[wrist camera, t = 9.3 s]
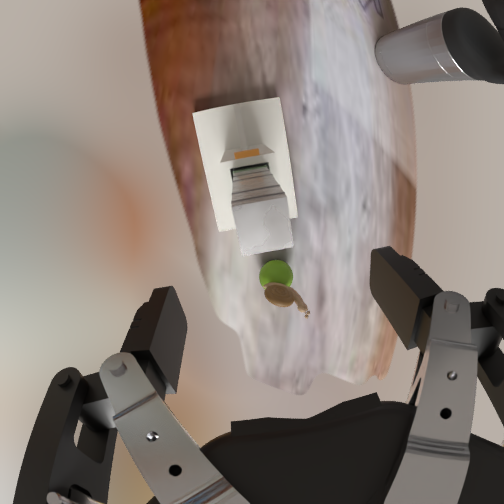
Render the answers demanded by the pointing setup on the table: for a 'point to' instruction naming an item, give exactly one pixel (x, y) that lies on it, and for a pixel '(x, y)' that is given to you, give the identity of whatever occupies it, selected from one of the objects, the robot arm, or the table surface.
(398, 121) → the table surface
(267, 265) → the snail figurine
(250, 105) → the grey stand
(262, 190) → the steel bar
